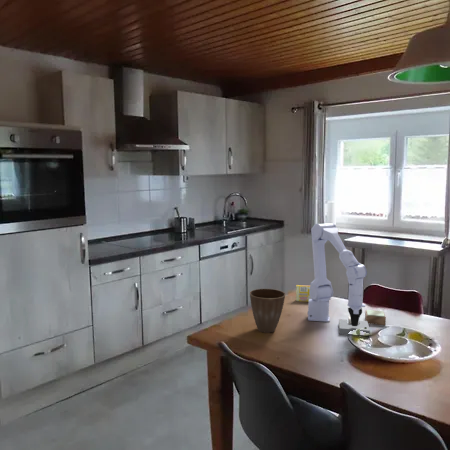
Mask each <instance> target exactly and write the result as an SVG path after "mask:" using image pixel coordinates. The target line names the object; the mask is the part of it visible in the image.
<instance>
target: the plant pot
mask: <svg viewBox="0 0 450 450" xmlns="http://www.w3.org/2000/svg"><path fill="white" fill-rule="evenodd" d="M249 297H250V304H251V305H250V306H251V311H252V315H253V319H254V323H255V325H256V328H257V330H258V331H259V332H261V333H267V334H269V333H274V332H275V331H276V329H277V326H278V324H279V321H280V319H281V315H282V313H283V309H284V304H285V298H286V293H285V292H284V291H282V290H279V289H275V288H257V289H253V290H250V291H249Z"/></svg>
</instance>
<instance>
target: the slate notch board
mask: <svg viewBox="0 0 450 450" xmlns="http://www.w3.org/2000/svg"><path fill="white" fill-rule="evenodd" d="M369 325H370V324H368V321H366V320H359V324H358V325H357V326H352V324H348V319H344V318H342V319H341V318H339V319H338V330H339V331H338V333H339V335H347V334H348V333H349V332H350V331H353V330H356V329H359V328H364V327H369V328H367V329H361V330H360V331H363V332H366V333H369V334H370V333H371V329H370V326H369ZM347 336H348V335H347Z"/></svg>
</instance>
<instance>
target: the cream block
mask: <svg viewBox="0 0 450 450" xmlns="http://www.w3.org/2000/svg"><path fill="white" fill-rule="evenodd" d="M359 321H360V320H359ZM359 321H358V324H359ZM347 322H348V324H351V317H350V315H348V319H347Z"/></svg>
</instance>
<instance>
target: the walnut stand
mask: <svg viewBox="0 0 450 450" xmlns="http://www.w3.org/2000/svg"><path fill="white" fill-rule="evenodd" d="M364 314H365V315H364V319H365V320H364V321H368V325H378V326H379V325H380V326H386V323H387V322H386V319H387V316H386V314H385V312H384V310H373V309H366V310H365V311H364Z"/></svg>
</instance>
